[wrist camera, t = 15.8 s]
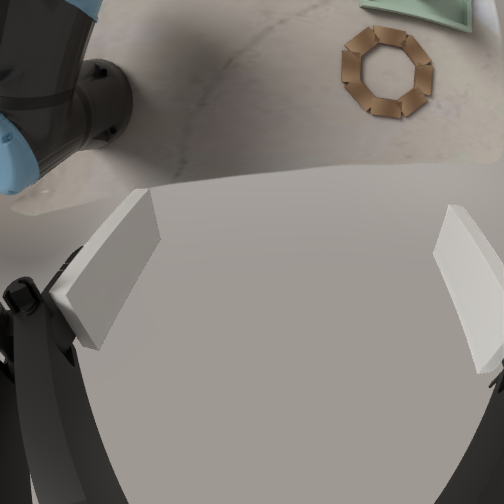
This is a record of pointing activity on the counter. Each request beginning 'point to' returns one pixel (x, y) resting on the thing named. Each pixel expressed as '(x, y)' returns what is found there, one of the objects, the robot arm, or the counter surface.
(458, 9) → the tray
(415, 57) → the walnut ring
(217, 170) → the counter surface
